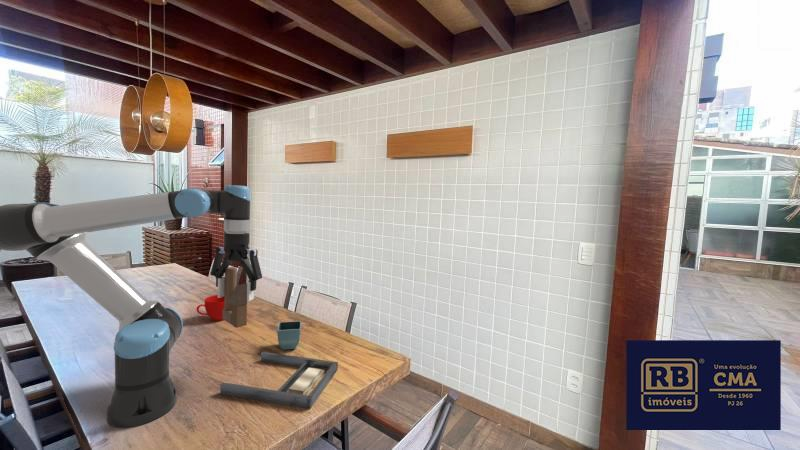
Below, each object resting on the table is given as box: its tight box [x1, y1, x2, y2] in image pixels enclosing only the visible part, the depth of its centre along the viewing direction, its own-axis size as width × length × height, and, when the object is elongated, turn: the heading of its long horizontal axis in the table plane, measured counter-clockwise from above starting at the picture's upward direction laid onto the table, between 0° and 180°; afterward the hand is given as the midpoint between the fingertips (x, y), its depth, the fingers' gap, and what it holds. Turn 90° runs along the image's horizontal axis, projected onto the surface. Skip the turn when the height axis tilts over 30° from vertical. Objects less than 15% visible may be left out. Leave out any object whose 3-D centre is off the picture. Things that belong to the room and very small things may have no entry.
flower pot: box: [276, 320, 302, 351], centre depth 130 cm, size 9×9×9 cm
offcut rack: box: [219, 351, 339, 410], centre depth 106 cm, size 22×29×3 cm
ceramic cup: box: [196, 294, 225, 322], centre depth 155 cm, size 13×17×10 cm
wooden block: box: [223, 266, 248, 329], centre depth 109 cm, size 4×11×18 cm, turn 50°
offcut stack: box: [288, 368, 326, 396], centre depth 105 cm, size 16×5×3 cm, turn 170°
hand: (235, 298), depth 109 cm, fingers closed on wooden block, 10 cm apart
